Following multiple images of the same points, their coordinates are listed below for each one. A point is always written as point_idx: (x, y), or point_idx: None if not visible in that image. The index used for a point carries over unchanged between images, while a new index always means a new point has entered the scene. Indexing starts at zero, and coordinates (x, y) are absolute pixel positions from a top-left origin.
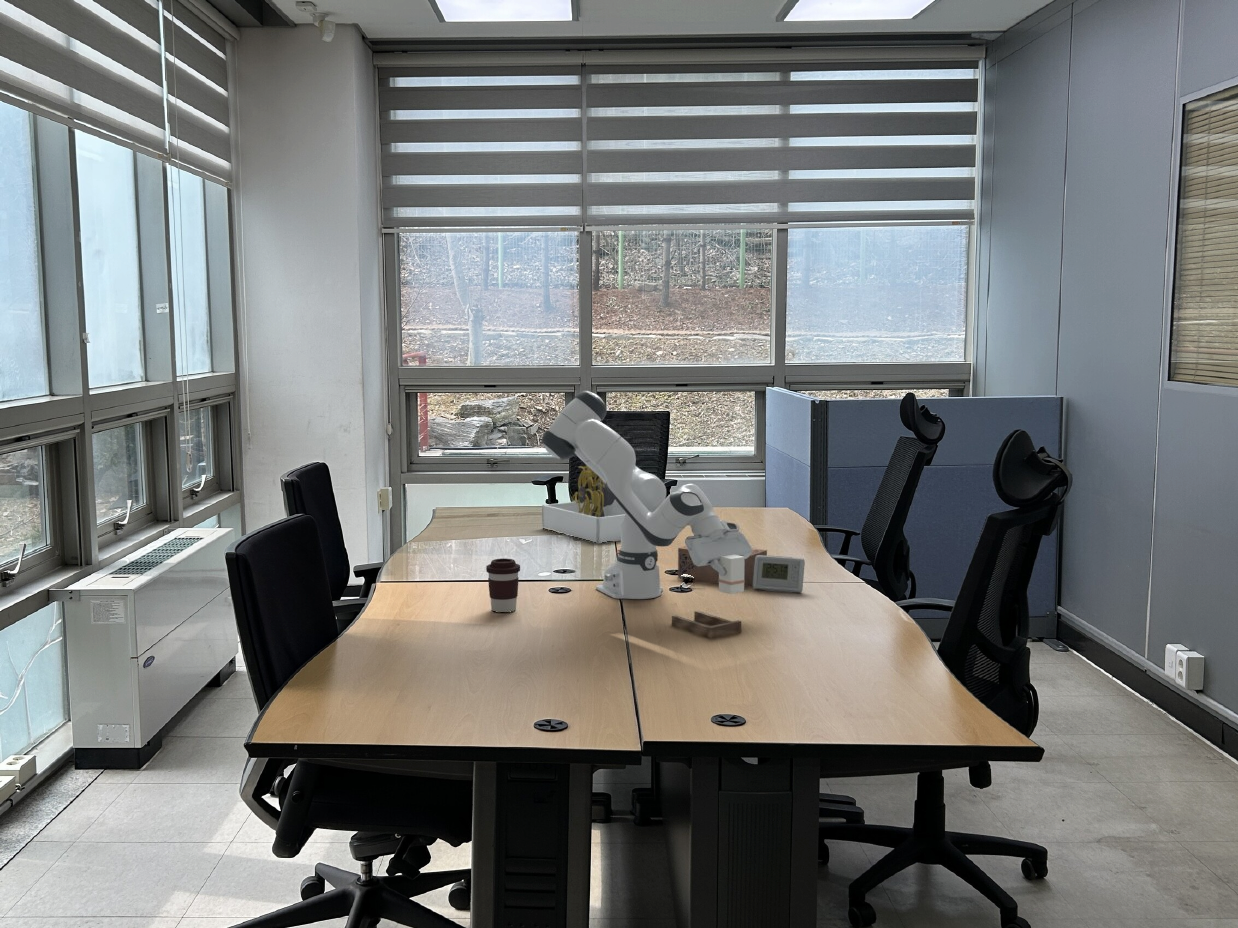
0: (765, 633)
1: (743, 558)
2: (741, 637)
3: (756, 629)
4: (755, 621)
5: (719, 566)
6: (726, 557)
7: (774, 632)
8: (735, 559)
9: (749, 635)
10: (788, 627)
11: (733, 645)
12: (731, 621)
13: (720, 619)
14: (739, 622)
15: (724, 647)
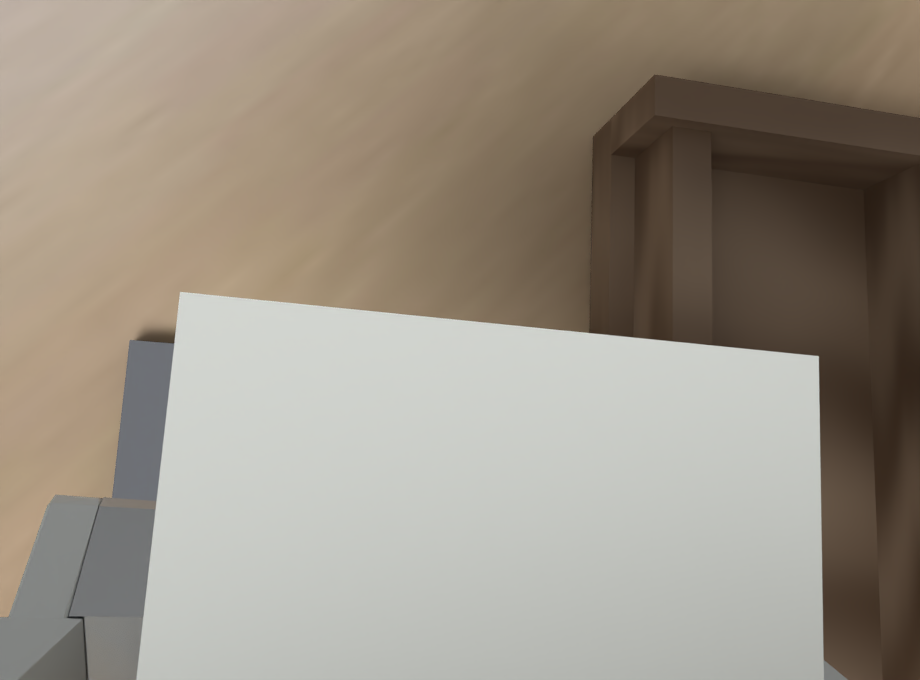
0: (347, 73)
1: (237, 308)
2: (587, 138)
3: (309, 205)
4: (83, 402)
5: (824, 663)
6: (791, 639)
7: (260, 36)
8: (609, 348)
9: (497, 129)
10: (13, 41)
11: (771, 50)
12: (679, 181)
13: (711, 300)
14: (674, 81)
15: (848, 65)
